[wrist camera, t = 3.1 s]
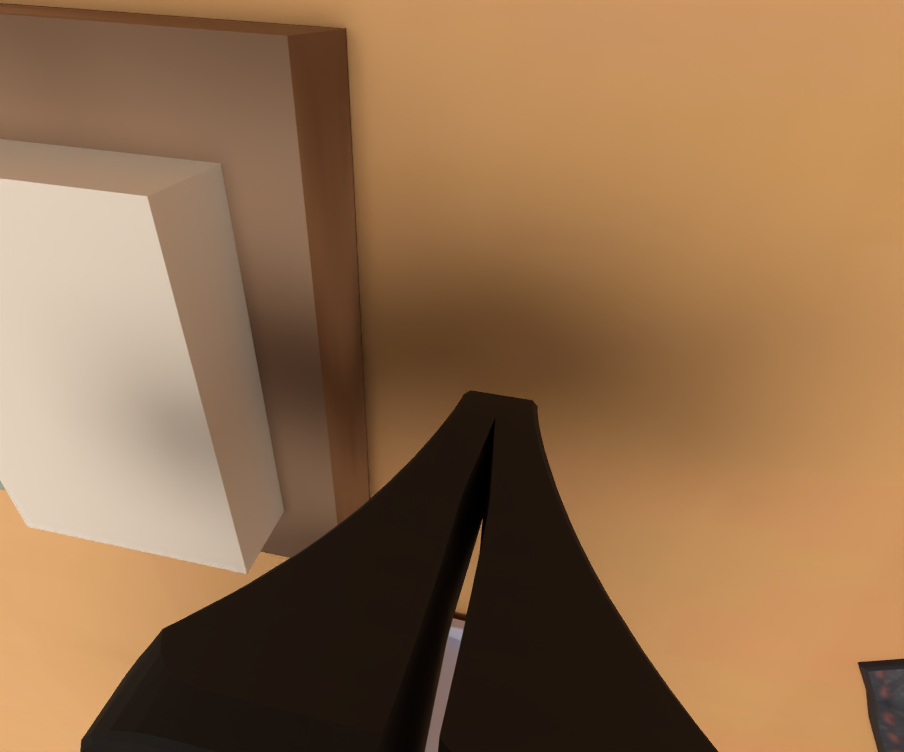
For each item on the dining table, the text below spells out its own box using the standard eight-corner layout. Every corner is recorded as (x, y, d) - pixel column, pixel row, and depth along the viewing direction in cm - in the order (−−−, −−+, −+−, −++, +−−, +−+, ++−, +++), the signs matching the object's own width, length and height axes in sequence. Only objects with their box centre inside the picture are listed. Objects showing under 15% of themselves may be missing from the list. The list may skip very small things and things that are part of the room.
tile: (283, 511, 15) (247, 574, 13) (85, 472, 16) (27, 526, 14) (220, 163, 10) (146, 195, 8) (-72, 130, 10) (-191, 154, 9)
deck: (369, 503, 18) (342, 568, 16) (92, 450, 19) (34, 504, 17) (345, 28, 10) (287, 35, 8) (-105, -5, 12) (-249, -5, 10)
